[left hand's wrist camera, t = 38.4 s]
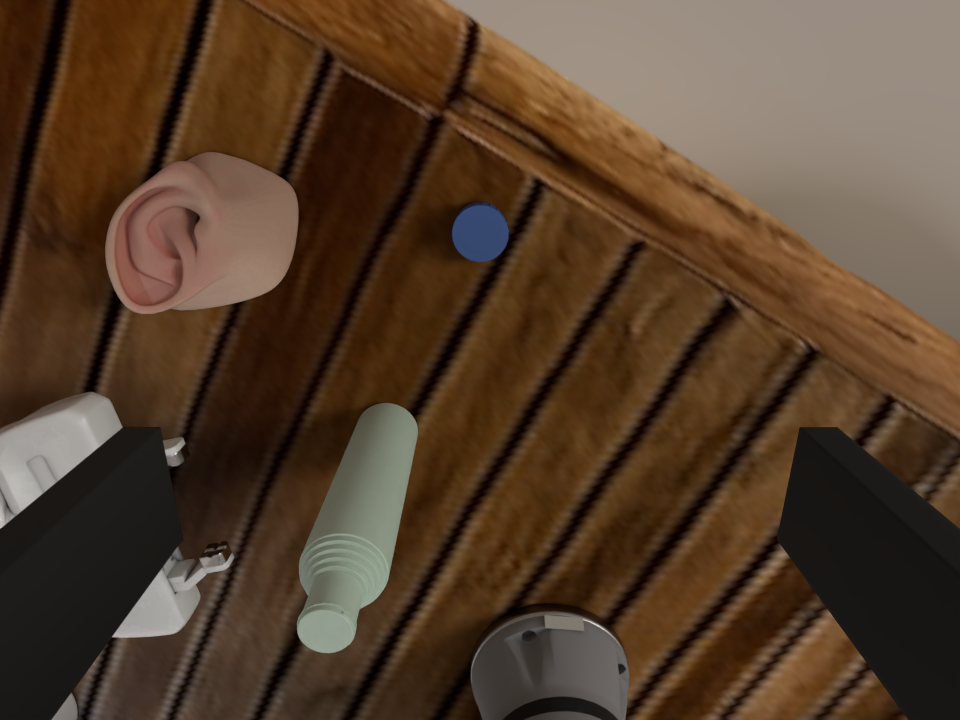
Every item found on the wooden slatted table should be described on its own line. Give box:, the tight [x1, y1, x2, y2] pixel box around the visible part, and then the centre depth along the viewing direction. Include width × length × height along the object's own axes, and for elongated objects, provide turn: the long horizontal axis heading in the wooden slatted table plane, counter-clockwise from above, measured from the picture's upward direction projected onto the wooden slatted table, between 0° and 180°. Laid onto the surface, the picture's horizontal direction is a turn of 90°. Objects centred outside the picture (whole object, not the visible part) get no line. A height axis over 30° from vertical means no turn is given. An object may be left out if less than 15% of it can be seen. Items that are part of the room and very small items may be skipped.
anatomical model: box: [105, 152, 298, 314], centre depth 44 cm, size 13×4×12 cm
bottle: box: [297, 403, 418, 653], centre depth 41 cm, size 5×5×22 cm
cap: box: [451, 202, 509, 262], centre depth 45 cm, size 4×4×2 cm
